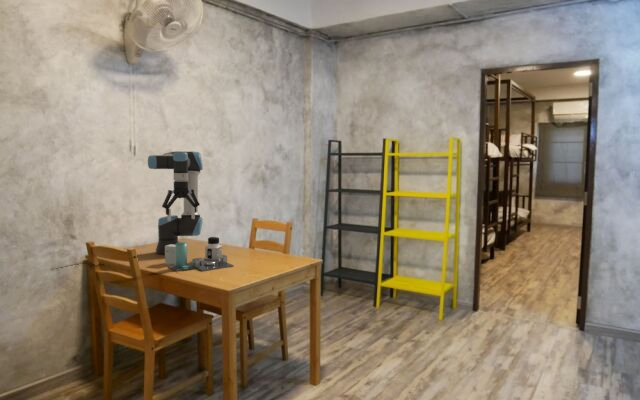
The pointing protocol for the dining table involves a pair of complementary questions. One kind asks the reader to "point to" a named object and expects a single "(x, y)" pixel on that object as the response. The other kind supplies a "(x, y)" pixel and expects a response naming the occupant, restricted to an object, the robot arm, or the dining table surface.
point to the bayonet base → (210, 263)
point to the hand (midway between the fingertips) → (181, 219)
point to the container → (213, 248)
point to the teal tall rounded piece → (181, 255)
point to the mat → (181, 268)
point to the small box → (170, 254)
